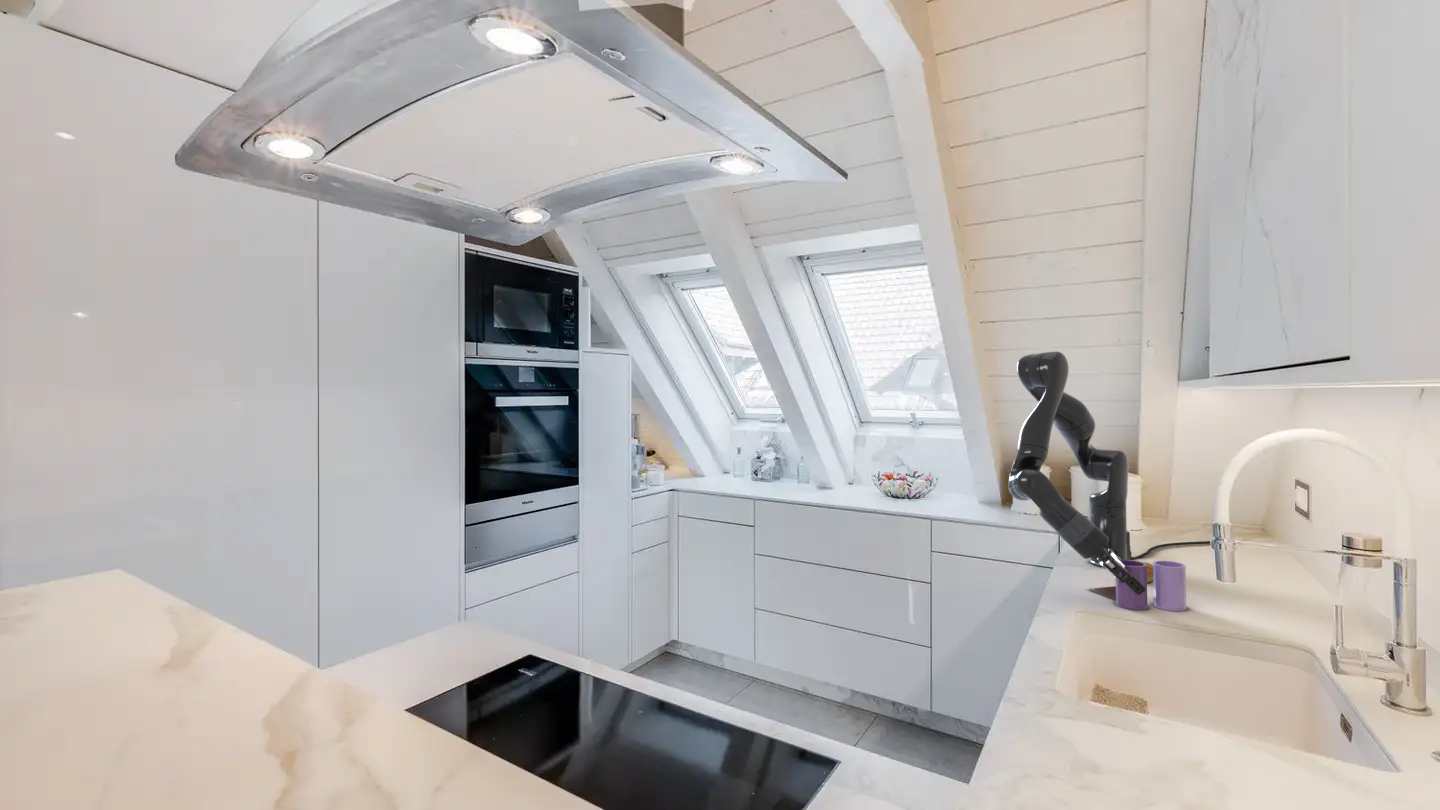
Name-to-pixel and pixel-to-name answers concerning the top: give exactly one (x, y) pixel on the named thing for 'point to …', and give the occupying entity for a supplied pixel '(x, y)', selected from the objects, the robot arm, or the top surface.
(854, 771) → the top surface
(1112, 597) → the coaster
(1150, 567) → the pastry
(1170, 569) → the lilac cup
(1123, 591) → the plum cup
